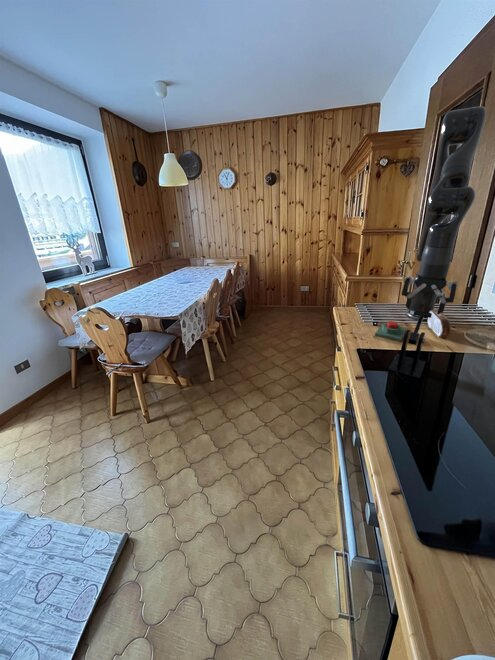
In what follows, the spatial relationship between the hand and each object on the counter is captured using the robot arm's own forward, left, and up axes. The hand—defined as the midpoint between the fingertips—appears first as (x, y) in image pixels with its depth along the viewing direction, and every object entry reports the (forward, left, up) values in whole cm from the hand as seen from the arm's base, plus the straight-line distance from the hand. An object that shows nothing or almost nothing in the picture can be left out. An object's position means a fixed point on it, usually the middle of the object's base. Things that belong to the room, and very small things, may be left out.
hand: (423, 310), depth 92 cm
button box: (-11, -10, -17) cm, 22 cm away
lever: (+5, 0, -5) cm, 7 cm away
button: (-11, -10, -13) cm, 20 cm away
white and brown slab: (-22, +4, -17) cm, 28 cm away
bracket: (+10, 0, -17) cm, 20 cm away
